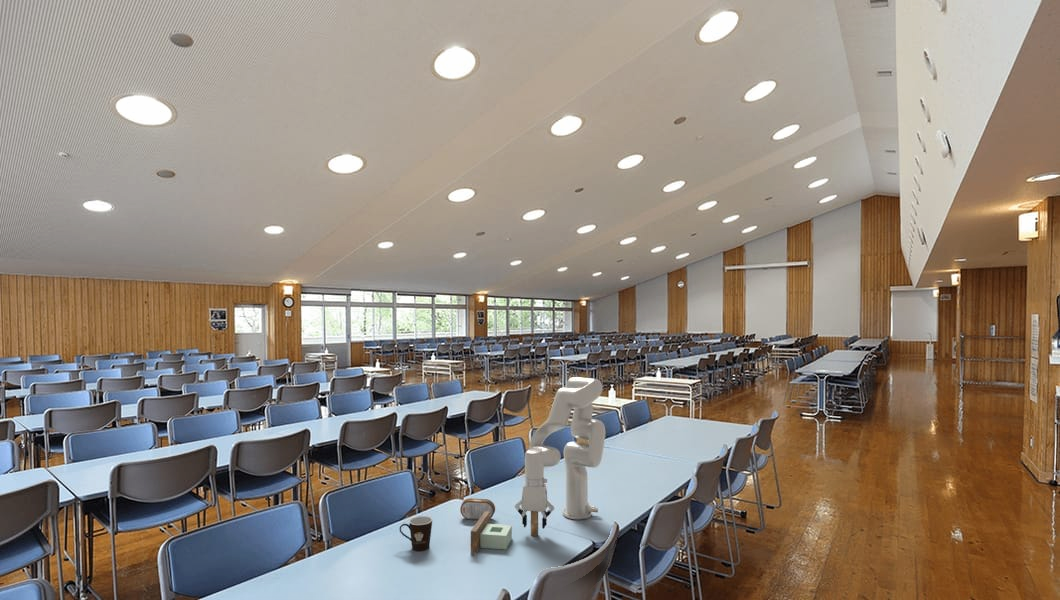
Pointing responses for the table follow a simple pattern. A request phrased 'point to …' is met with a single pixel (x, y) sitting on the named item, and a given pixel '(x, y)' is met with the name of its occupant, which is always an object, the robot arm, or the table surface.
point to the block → (496, 536)
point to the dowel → (534, 523)
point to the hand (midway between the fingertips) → (534, 526)
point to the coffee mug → (419, 532)
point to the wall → (479, 531)
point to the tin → (476, 508)
